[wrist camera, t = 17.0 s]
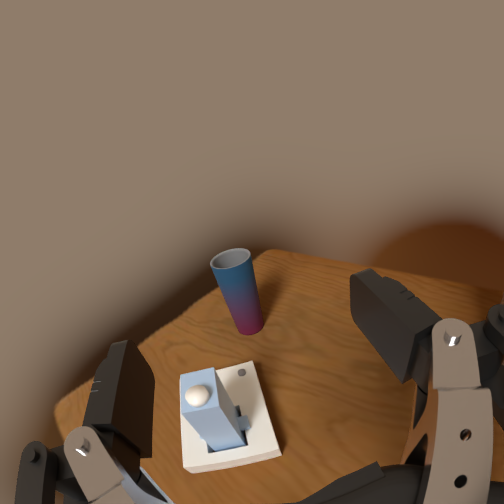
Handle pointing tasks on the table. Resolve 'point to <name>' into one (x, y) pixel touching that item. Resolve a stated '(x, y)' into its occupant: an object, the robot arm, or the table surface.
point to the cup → (239, 288)
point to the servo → (212, 410)
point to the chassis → (259, 436)
